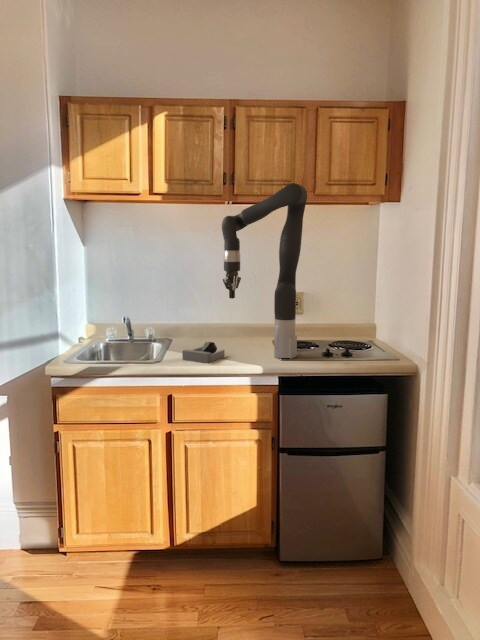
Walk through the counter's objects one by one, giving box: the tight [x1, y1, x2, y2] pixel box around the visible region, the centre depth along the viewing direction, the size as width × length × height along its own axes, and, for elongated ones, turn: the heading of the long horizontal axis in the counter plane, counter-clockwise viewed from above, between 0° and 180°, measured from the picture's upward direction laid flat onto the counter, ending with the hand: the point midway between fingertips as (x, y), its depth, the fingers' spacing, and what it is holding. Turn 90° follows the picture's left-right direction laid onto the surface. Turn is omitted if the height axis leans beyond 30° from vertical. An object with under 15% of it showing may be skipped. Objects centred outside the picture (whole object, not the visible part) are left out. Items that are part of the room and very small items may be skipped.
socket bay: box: [181, 346, 226, 364], centre depth 225 cm, size 13×14×4 cm
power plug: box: [201, 341, 218, 354], centre depth 228 cm, size 6×8×12 cm
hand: (232, 298), depth 235 cm, fingers closed
